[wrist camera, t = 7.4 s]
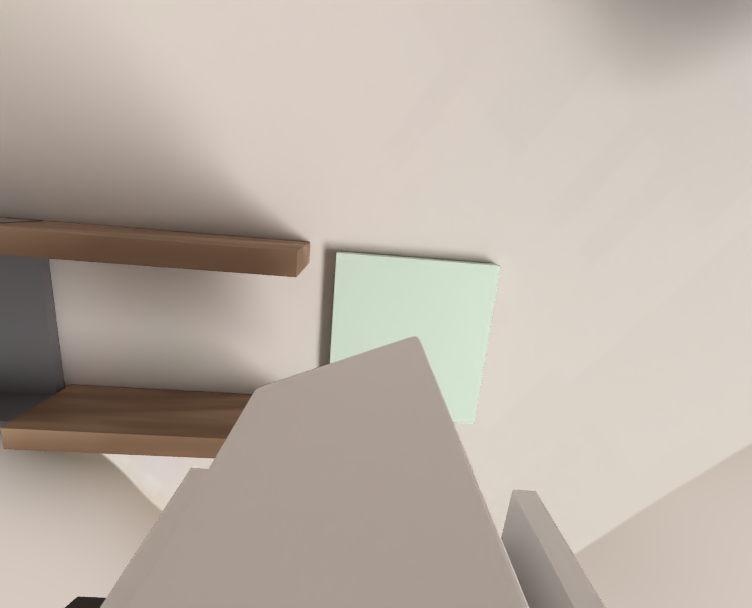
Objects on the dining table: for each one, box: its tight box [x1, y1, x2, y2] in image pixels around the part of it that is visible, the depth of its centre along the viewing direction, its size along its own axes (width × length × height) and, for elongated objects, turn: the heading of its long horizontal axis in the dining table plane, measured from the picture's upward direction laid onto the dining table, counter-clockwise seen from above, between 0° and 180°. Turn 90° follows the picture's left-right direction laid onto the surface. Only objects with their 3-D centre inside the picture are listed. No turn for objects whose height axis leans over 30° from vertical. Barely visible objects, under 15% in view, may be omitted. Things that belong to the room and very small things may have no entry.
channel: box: [0, 221, 310, 458], centre depth 26 cm, size 14×18×6 cm
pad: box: [330, 251, 501, 424], centre depth 29 cm, size 13×12×1 cm
